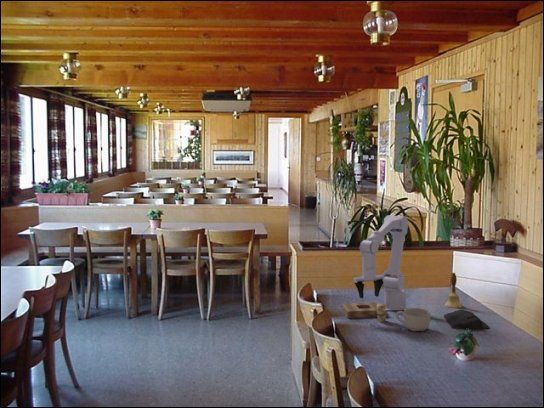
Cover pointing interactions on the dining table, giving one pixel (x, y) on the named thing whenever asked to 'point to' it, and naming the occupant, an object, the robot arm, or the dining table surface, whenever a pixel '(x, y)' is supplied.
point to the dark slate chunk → (464, 320)
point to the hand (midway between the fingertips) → (369, 297)
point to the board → (360, 310)
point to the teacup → (415, 318)
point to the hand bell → (453, 295)
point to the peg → (381, 312)
